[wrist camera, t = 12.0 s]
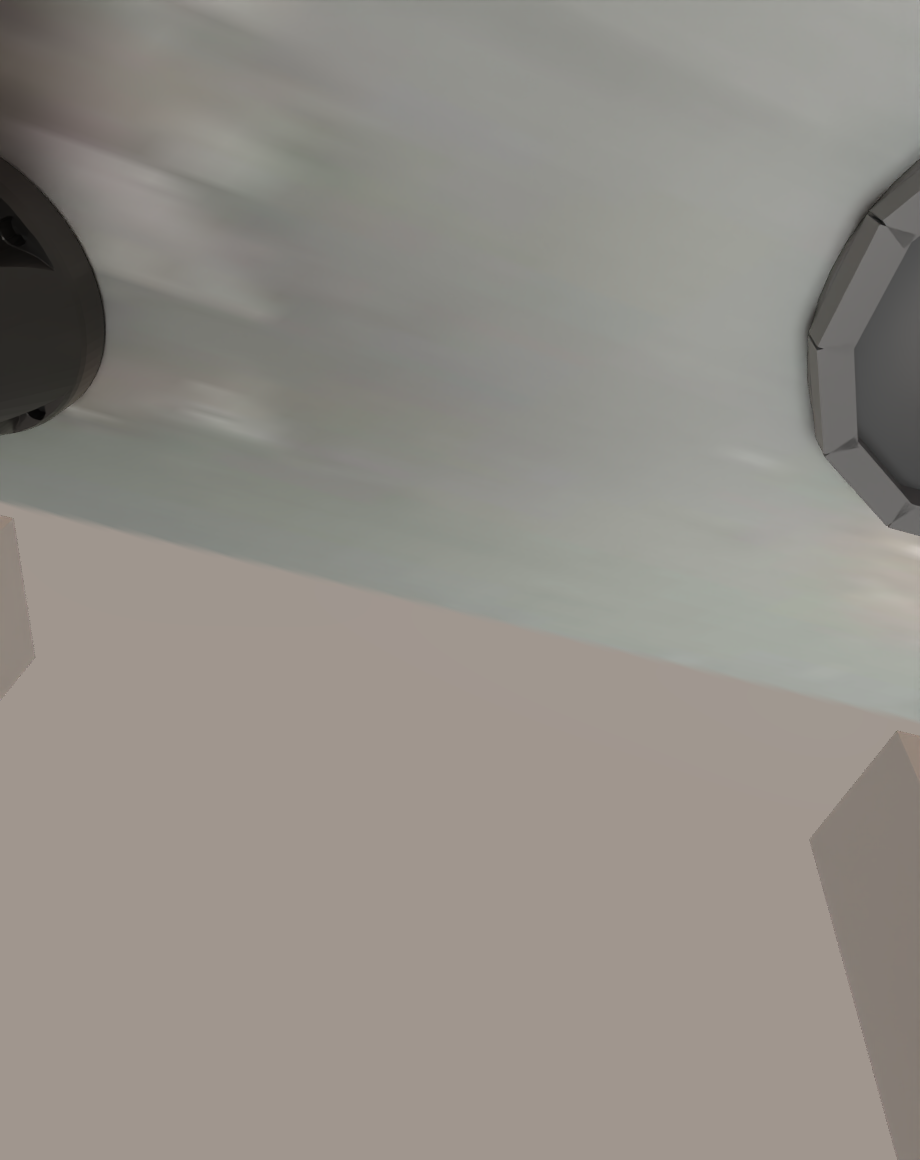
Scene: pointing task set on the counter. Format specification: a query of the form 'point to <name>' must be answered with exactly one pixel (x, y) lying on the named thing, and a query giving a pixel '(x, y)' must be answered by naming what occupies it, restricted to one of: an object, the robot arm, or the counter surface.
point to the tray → (873, 358)
